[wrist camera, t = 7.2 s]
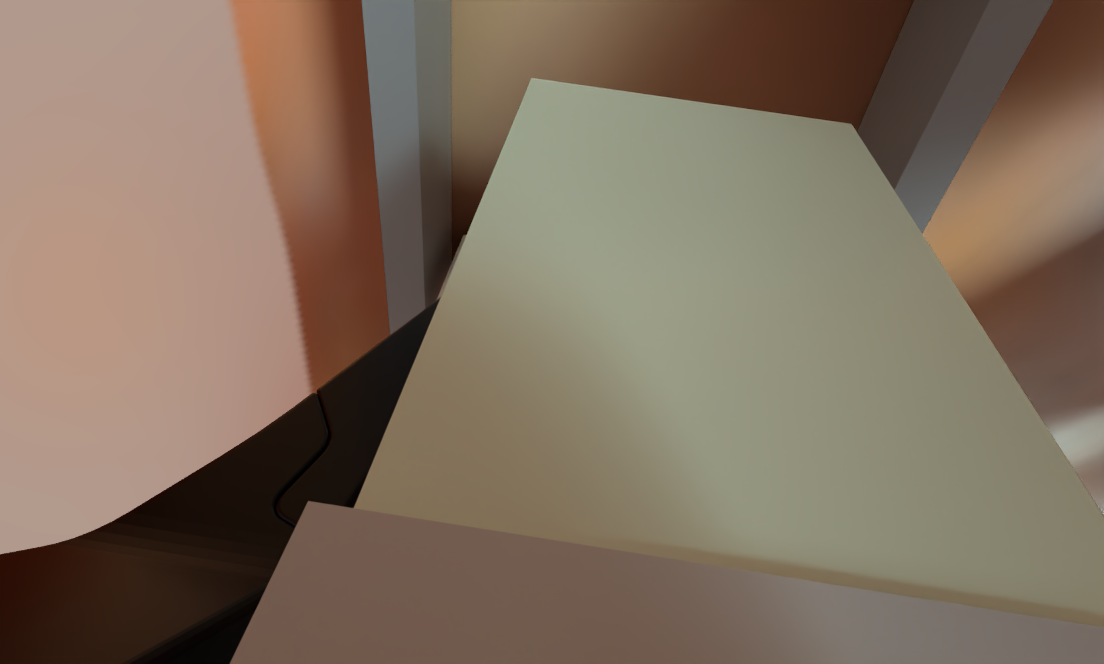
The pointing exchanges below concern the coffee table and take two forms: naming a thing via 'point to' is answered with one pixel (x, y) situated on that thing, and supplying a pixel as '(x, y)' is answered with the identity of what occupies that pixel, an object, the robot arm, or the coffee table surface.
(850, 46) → the coffee table surface
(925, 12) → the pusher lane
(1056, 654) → the sage jar
